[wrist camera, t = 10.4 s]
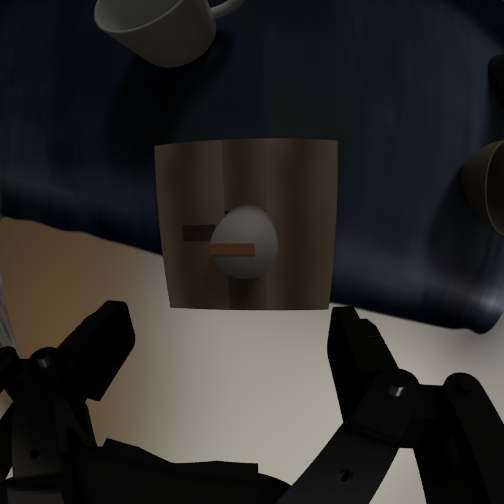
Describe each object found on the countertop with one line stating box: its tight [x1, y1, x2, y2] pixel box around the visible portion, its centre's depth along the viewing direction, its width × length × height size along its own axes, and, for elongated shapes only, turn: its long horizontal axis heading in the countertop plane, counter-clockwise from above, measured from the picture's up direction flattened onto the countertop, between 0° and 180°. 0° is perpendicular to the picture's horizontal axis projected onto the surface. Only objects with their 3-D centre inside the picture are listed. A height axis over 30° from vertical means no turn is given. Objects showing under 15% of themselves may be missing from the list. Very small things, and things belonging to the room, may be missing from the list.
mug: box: [94, 0, 245, 68], centre depth 16 cm, size 12×8×10 cm
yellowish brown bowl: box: [460, 140, 504, 236], centre depth 21 cm, size 10×10×7 cm
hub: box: [154, 139, 338, 310], centre depth 26 cm, size 16×16×3 cm
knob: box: [209, 205, 278, 279], centre depth 23 cm, size 5×5×8 cm
